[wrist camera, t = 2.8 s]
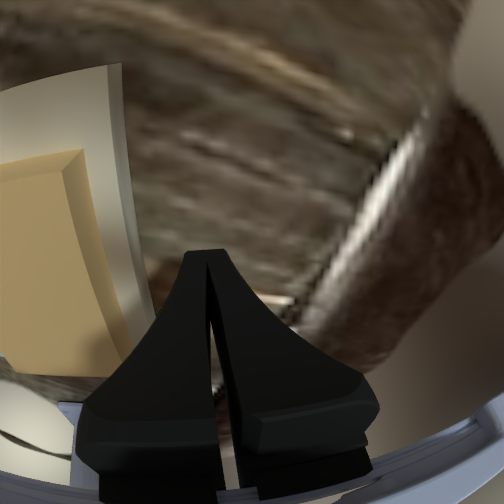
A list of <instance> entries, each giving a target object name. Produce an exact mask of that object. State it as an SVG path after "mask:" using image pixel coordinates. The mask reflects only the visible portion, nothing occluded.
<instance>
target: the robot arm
mask: <svg viewBox="0 0 504 504" xmlns="http://www.w3.org/2000/svg"><path fill="white" fill-rule="evenodd" d="M210 320H211V325H212V330H213V334H214V339H215V343H216V348H217V352H218V357H219V361H220V365H221V369H222V374H223V379H224V385H225V392H226V399H227V406H228V413H229V420H230V427H231V434H232V440H233V447H234V453H235V459H236V466H237V473H238V479H239V485H240V489H233V490H226V486H225V480H224V473H223V467H222V461H221V454H220V447H219V440H218V433H217V425H216V418H215V410H214V402H213V394H212V385H211V338H210ZM57 407H58V409H59V410H60V411H61V412H62V413H63V414H64V415H65V417H66V418H67V419H68V420H69V421H70V422H71V423H72V424H73V425H74V435H73V446H72V457H71V472H70V486H66V485H60V484H54V483H49V482H44V481H40V480H35V479H31V478H26V477H22V476H18V475H15V474H11V473H7V472H4V471H0V504H299V503H304V502H308V501H312V500H316V499H320V498H324V497H327V496H331V495H335V494H338V493H342V492H345V491H348V490H352V489H355V488H358V487H361V486H364V485H366V486H364V487H362V488H359V489H357V490H354V491H352V492H349V493H347V494H344V495H342V497H341V499H339V500H338V501H336V502H334V503H332V504H457V503H459V502H460V501H462V500H463V499H465V498H466V497H467V496H469V495H470V494H472V493H473V492H474V491H476V490H477V489H478V488H480V487H481V486H482V485H484V484H485V483H486V482H488V481H489V480H490V479H491V478H493V477H494V476H495V475H496V474H498V473H499V472H500V471H501V470H503V469H504V392H502V393H500V394H499V395H497V396H495V397H494V398H492V399H490V400H489V401H487V402H486V403H485V404H484V405H482V406H481V407H480V408H479V409H478V410H477V411H476V413H475V414H474V415H472V416H470V417H468V418H466V419H465V420H463V421H461V422H459V423H457V424H455V425H453V426H451V427H449V428H447V429H445V430H443V431H441V432H438V433H436V434H434V435H432V436H429V437H427V438H425V439H423V440H420V441H418V442H416V443H414V444H411V445H408V446H406V447H403V448H401V449H398V450H396V451H393V452H390V453H388V454H385V455H382V456H379V457H377V458H373V459H370V458H369V456H368V453H367V451H366V448H365V446H367V445H368V440H367V438H366V435H365V433H364V432H365V431H366V429H367V428H368V427H369V426H370V424H371V423H372V422H373V421H374V419H375V418H376V416H377V414H378V413H379V410H380V406H379V403H378V400H377V398H376V396H375V394H374V392H373V390H372V388H371V387H370V385H369V384H368V382H367V380H366V379H365V377H364V375H363V374H362V373H360V372H358V371H356V370H354V369H352V368H350V367H348V366H346V365H344V364H343V363H341V362H339V361H337V360H335V359H333V358H331V357H330V356H328V355H326V354H325V353H323V352H322V351H320V350H318V349H317V348H315V347H314V346H313V345H311V344H310V343H309V342H307V341H306V340H304V339H303V338H302V337H300V336H299V335H298V334H296V333H295V332H294V331H293V330H291V329H290V328H289V327H288V326H287V325H286V324H284V323H283V322H282V321H281V320H280V319H279V318H278V317H277V316H276V315H275V314H274V313H273V312H272V311H271V310H270V309H269V308H268V307H267V306H266V305H265V304H264V303H263V302H262V301H261V300H260V299H259V298H258V296H257V295H256V294H255V293H254V292H253V290H252V289H251V288H250V287H249V285H248V284H247V283H246V281H245V280H244V279H243V277H242V276H241V275H240V273H239V272H238V270H237V269H236V267H235V266H234V264H233V262H232V261H231V259H230V257H229V255H228V253H227V251H226V250H224V249H210V250H195V251H187V252H186V253H185V254H184V258H183V262H182V265H181V268H180V271H179V273H178V276H177V278H176V280H175V282H174V285H173V287H172V289H171V291H170V293H169V295H168V297H167V299H166V301H165V303H164V305H163V306H162V308H161V310H160V312H159V314H158V315H157V317H156V319H155V320H154V322H153V323H152V325H151V326H150V328H149V329H148V331H147V332H146V334H145V335H144V336H143V338H142V339H141V340H140V342H139V343H138V344H137V346H136V347H135V348H134V350H133V351H132V352H131V353H130V355H129V356H128V357H127V358H126V359H125V360H124V361H123V363H122V364H121V365H120V366H119V367H118V368H117V369H116V370H115V371H114V373H113V374H112V375H111V376H110V377H109V378H108V379H107V380H106V381H105V382H104V383H103V384H101V385H100V386H99V387H98V388H97V389H96V390H95V391H94V392H93V393H92V394H91V395H90V396H89V397H88V398H86V399H85V400H84V402H83V403H69V402H59V403H58V406H57ZM370 483H371V484H370ZM367 484H369V485H367Z"/></svg>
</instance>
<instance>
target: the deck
mask: <svg viewBox="0 0 504 504" xmlns="http://www.w3.org/2000/svg"><path fill="white" fill-rule="evenodd" d="M81 148H84V155H85V162H86V168H87V174H88V179H89V185H90V190H91V195H92V200H93V205H94V210H95V215H96V219H97V224H98V228H99V232H100V237H101V241H102V245H103V249H104V253H105V257H106V260H107V264H108V268H109V271H110V275H111V279H112V282H113V285H114V289H115V292H116V295H117V299H118V302H119V305H120V308H121V311H122V315H123V318H124V321H125V324H126V327H127V329H128V332H129V335H130V338H131V341H132V344H131V352H132V351H133V350H134V348H135V347H136V346H137V344H138V343H139V342H140V340H141V339H142V338H143V336H144V335H145V334H146V332H147V331H148V329H149V328H150V326H151V325H152V323H153V322H154V320H155V319H156V316H155V312H154V307H153V303H152V298H151V294H150V289H149V285H148V280H147V275H146V270H145V265H144V260H143V255H142V249H141V244H140V238H139V232H138V226H137V220H136V214H135V208H134V201H133V194H132V187H131V179H130V171H129V162H128V153H127V144H126V133H125V122H124V108H123V92H122V69H121V63H118V64H111V65H105V66H99V67H94V68H88V69H83V70H78V71H74V72H69V73H65V74H60V75H56V76H52V77H48V78H44V79H41V80H37V81H33V82H30V83H26V84H23V85H20V86H17V87H13V88H10V89H7V90H4V91H1V92H0V164H4V163H8V162H12V161H17V160H21V159H26V158H31V157H36V156H41V155H46V154H51V153H57V152H63V151H68V150H75V149H81Z"/></svg>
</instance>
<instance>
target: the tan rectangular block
mask: <svg viewBox="0 0 504 504" xmlns="http://www.w3.org/2000/svg"><path fill="white" fill-rule="evenodd" d="M131 344H132V341H131V338H130V335H129V332H128V329H127V327H126V324H125V321H124V318H123V315H122V311H121V308H120V305H119V302H118V299H117V295H116V292H115V289H114V285H113V282H112V279H111V275H110V271H109V268H108V264H107V260H106V257H105V253H104V249H103V245H102V241H101V237H100V232H99V228H98V224H97V219H96V215H95V210H94V205H93V200H92V195H91V190H90V185H89V179H88V174H87V168H86V162H85V155H84V148H81V149H75V150H68V151H63V152H57V153H51V154H46V155H41V156H36V157H31V158H26V159H21V160H17V161H12V162H8V163H4V164H0V351H1V353H2V354H3V355H4V357H5V358H6V360H7V361H8V362H9V364H10V365H11V366H12V368H13V369H14V370H15V372H16V373H27V374H39V375H55V376H77V377H110V376H111V375H112V374H113V373H114V371H115V370H116V369H117V368H118V367H119V366H120V365H121V364H122V363H123V361H124V360H125V359H126V358H127V357H128V356H129V355H130V353H131Z"/></svg>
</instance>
